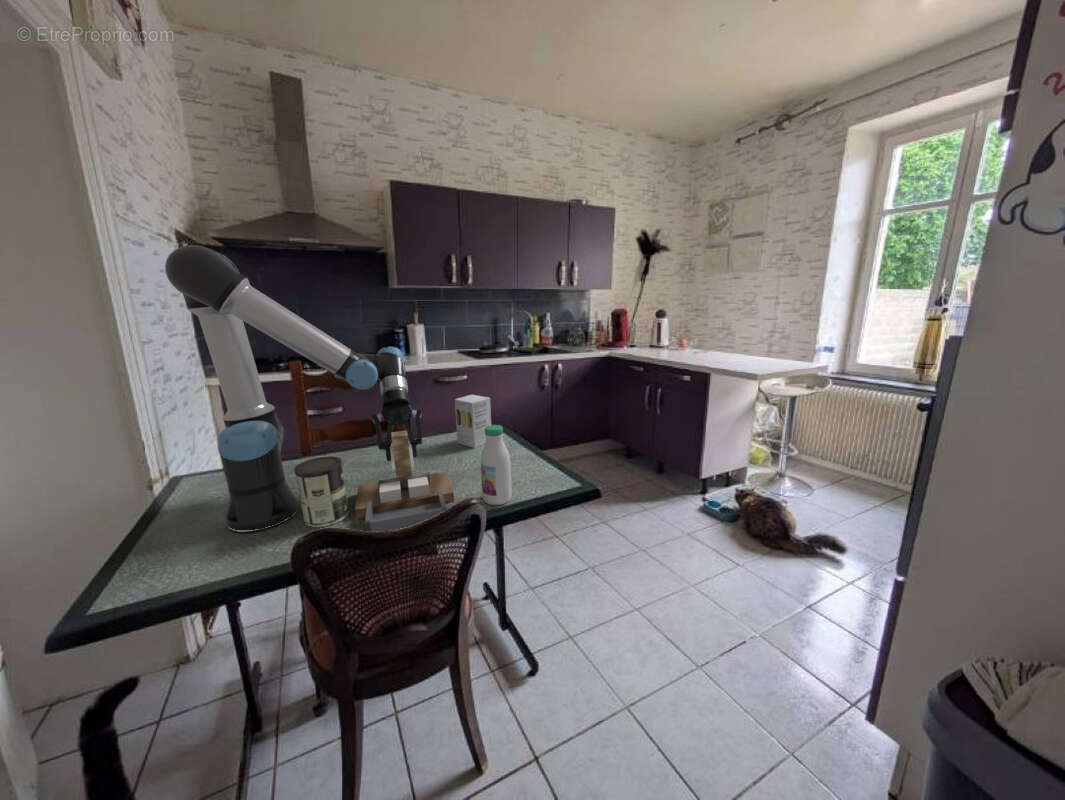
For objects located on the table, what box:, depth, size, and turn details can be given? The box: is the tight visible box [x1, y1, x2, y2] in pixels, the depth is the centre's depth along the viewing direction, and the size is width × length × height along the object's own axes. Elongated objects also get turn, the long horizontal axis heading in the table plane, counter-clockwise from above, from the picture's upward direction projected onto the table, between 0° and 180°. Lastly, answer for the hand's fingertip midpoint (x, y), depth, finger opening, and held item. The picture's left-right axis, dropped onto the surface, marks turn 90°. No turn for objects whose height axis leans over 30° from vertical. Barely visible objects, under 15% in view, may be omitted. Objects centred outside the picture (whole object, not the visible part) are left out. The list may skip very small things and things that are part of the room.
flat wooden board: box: [354, 471, 455, 520], centre depth 111 cm, size 24×14×2 cm, turn 109°
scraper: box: [377, 430, 430, 491], centre depth 110 cm, size 13×6×14 cm, turn 109°
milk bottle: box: [480, 424, 513, 506], centre depth 106 cm, size 8×8×20 cm
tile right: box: [408, 477, 430, 498], centre depth 108 cm, size 5×5×3 cm
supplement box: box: [454, 394, 492, 449], centre depth 149 cm, size 10×9×17 cm
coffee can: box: [293, 456, 350, 528], centre depth 101 cm, size 10×10×14 cm
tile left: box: [379, 481, 402, 503], centre depth 106 cm, size 5×5×3 cm
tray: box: [364, 489, 448, 531], centre depth 99 cm, size 18×11×4 cm, turn 109°
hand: (403, 469), depth 108 cm, fingers closed on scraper, 4 cm apart
